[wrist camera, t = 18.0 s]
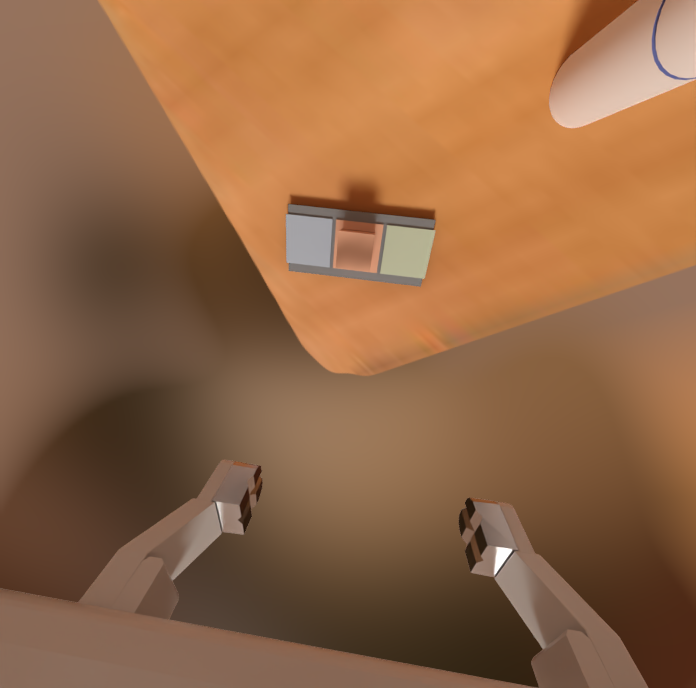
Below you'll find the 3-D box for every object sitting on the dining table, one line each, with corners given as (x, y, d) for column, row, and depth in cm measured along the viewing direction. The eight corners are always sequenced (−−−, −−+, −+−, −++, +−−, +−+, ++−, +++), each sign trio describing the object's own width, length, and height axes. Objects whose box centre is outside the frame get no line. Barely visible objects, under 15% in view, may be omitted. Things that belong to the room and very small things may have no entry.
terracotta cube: (342, 228, 36) (338, 230, 32) (375, 232, 36) (374, 234, 32) (340, 261, 38) (335, 267, 34) (370, 265, 38) (369, 271, 34)
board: (289, 204, 37) (285, 203, 36) (435, 219, 36) (437, 220, 35) (289, 269, 41) (286, 270, 40) (421, 284, 40) (422, 287, 39)
